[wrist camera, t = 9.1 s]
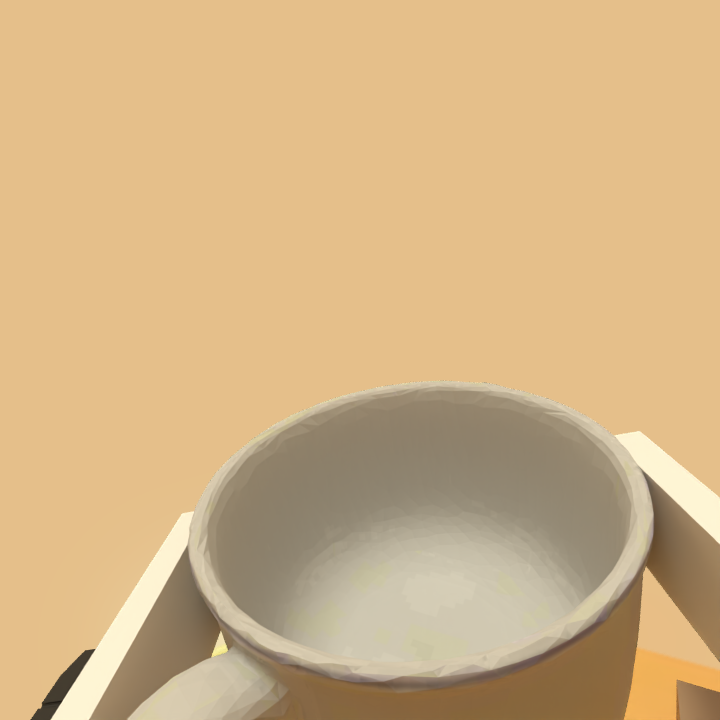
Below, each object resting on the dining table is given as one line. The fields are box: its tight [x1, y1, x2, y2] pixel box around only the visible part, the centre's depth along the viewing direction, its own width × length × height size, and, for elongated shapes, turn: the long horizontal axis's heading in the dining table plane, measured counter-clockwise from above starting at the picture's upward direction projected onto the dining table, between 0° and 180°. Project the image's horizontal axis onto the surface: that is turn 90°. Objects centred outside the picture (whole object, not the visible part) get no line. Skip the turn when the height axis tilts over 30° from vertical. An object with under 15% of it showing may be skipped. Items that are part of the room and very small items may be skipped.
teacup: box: [127, 381, 655, 720], centre depth 12 cm, size 14×11×8 cm
